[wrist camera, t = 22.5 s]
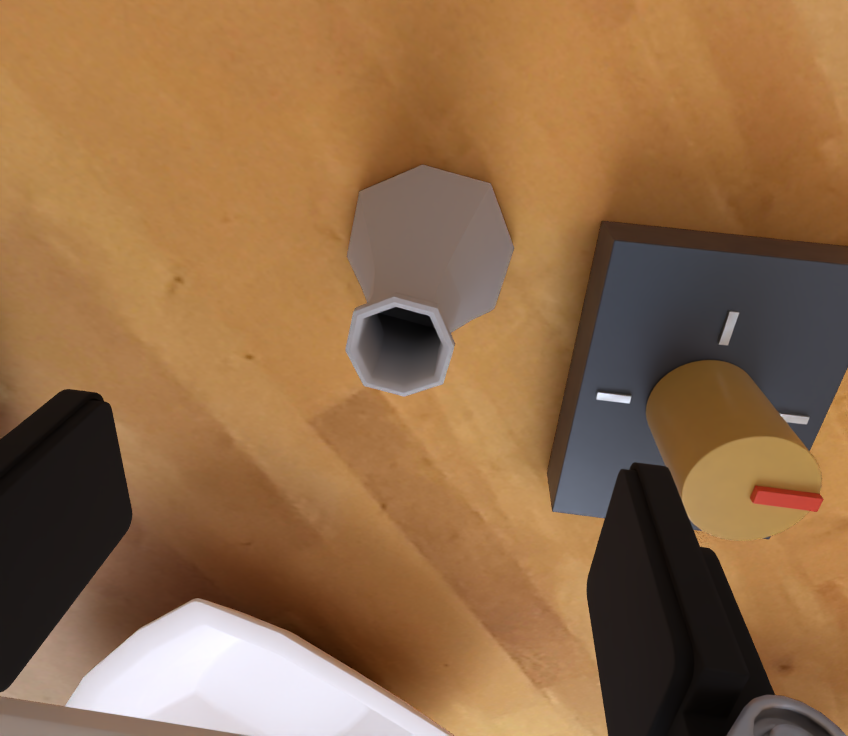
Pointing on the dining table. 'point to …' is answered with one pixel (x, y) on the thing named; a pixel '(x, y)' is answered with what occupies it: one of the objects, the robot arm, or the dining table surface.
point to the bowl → (241, 681)
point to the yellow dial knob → (731, 452)
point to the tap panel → (692, 341)
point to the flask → (422, 273)
